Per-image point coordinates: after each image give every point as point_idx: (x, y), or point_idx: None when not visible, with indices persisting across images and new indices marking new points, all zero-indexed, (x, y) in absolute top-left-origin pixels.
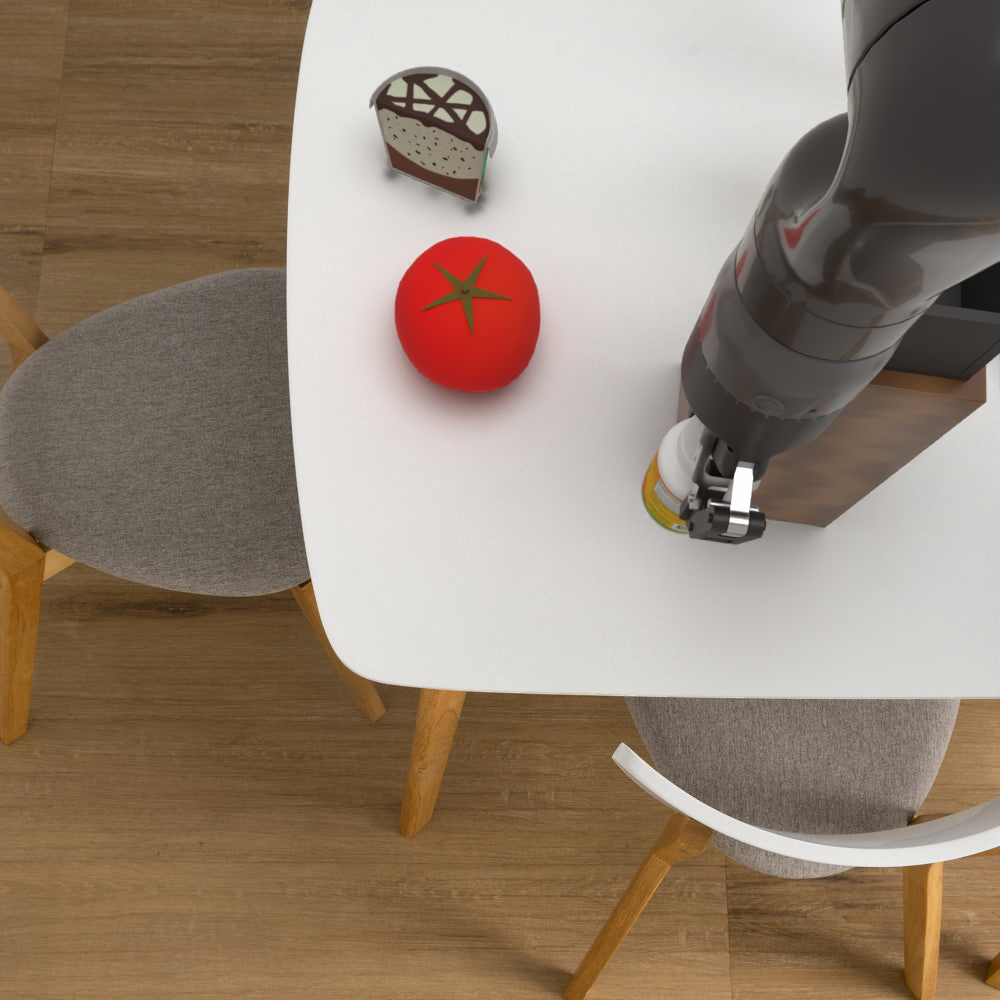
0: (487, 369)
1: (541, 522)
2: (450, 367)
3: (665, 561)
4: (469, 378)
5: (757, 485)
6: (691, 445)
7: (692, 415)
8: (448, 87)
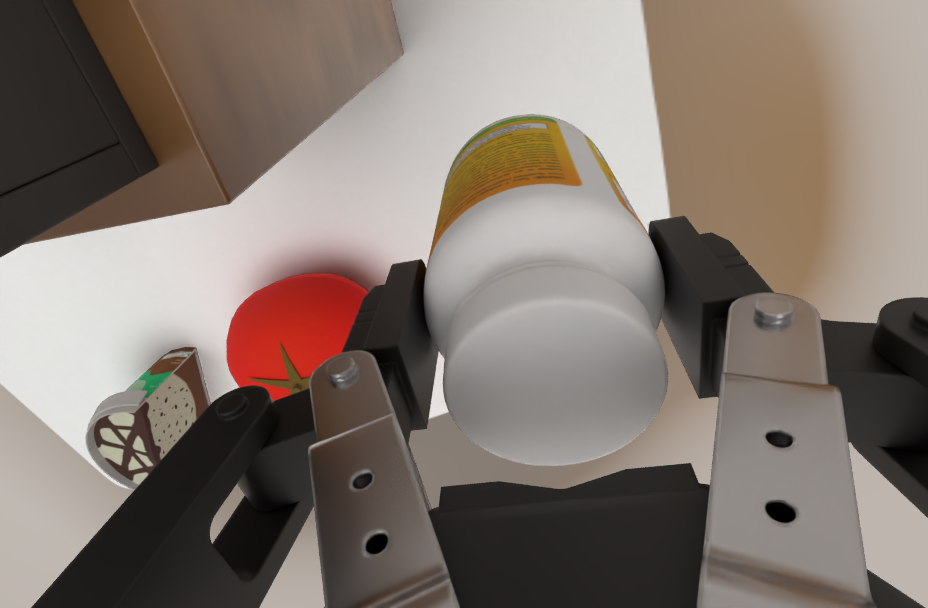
0: None
1: None
2: None
3: (475, 34)
4: None
5: (841, 408)
6: (583, 444)
7: (437, 353)
8: (109, 447)
